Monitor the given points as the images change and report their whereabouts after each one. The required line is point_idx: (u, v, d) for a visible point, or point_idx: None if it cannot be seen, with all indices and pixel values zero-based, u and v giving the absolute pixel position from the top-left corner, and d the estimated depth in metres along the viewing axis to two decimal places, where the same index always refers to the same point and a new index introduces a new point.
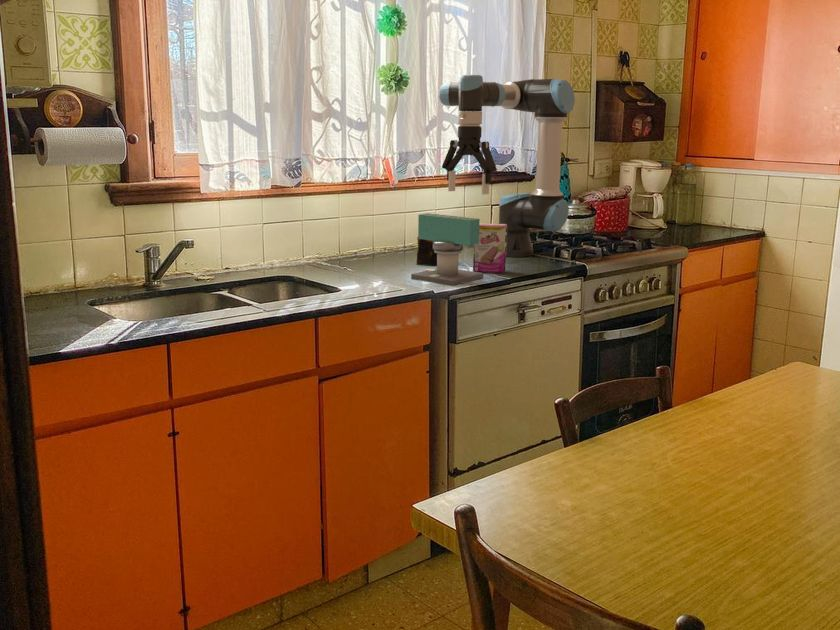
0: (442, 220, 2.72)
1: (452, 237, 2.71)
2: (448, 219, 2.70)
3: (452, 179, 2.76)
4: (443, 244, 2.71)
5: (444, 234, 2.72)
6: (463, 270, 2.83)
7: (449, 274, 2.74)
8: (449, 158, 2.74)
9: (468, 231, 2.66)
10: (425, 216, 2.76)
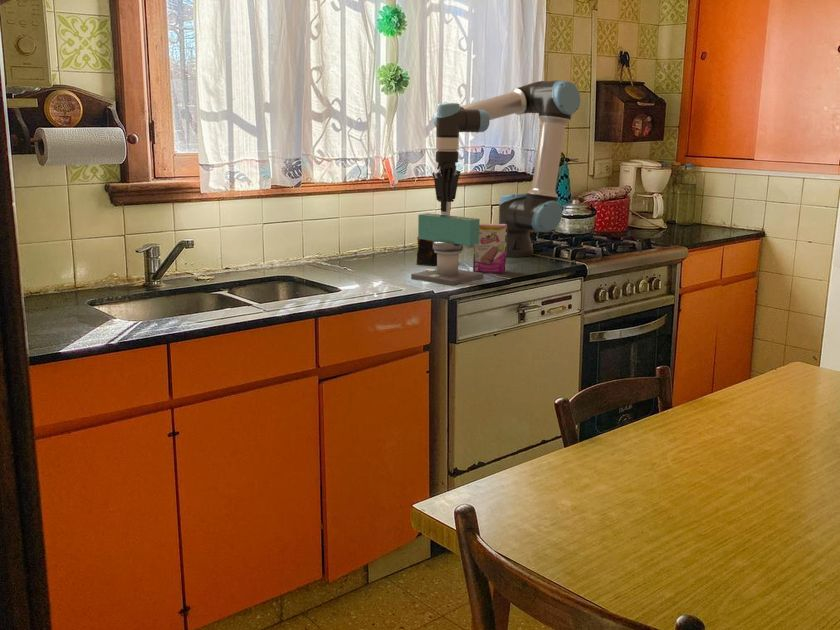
0: (442, 220, 2.72)
1: (452, 237, 2.71)
2: (448, 219, 2.70)
3: None
4: (443, 244, 2.71)
5: (444, 234, 2.72)
6: (463, 270, 2.83)
7: (449, 274, 2.74)
8: None
9: (468, 231, 2.66)
10: (425, 216, 2.76)
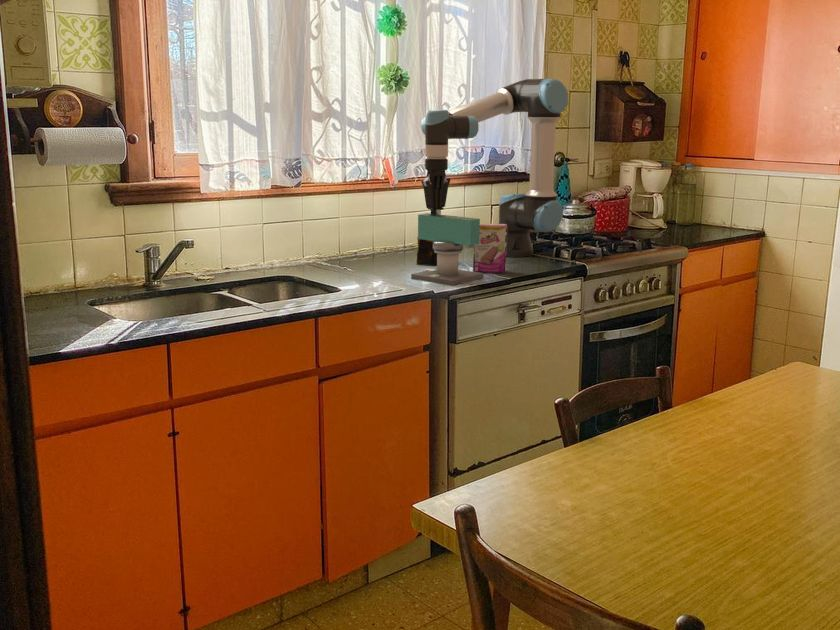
0: (442, 220, 2.72)
1: (452, 237, 2.71)
2: (448, 219, 2.70)
3: None
4: (443, 244, 2.71)
5: (444, 234, 2.72)
6: (463, 270, 2.83)
7: (449, 274, 2.74)
8: None
9: (469, 231, 2.66)
10: (425, 216, 2.76)
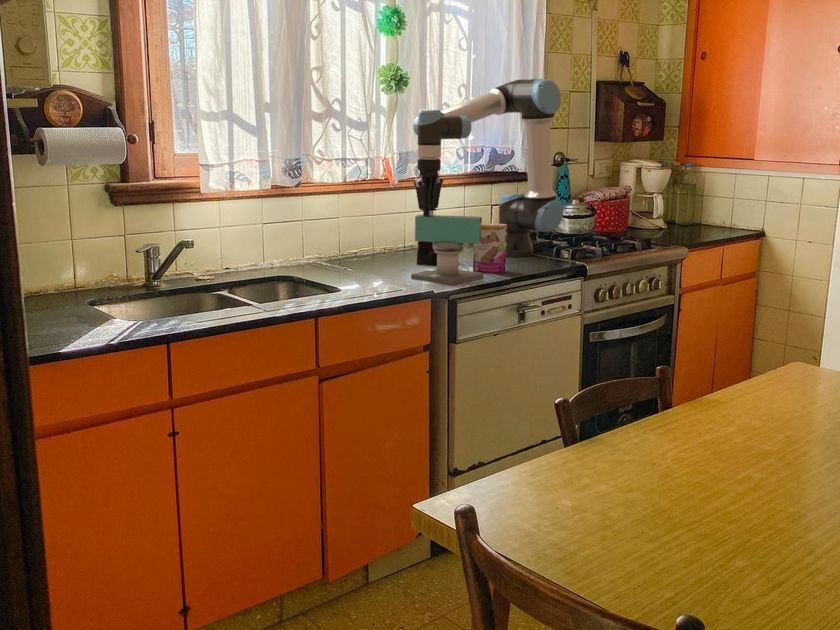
0: (445, 220, 2.71)
1: (458, 237, 2.72)
2: (453, 219, 2.71)
3: None
4: (451, 244, 2.71)
5: (448, 234, 2.72)
6: (463, 270, 2.83)
7: (449, 274, 2.74)
8: None
9: (477, 229, 2.70)
10: (424, 218, 2.72)
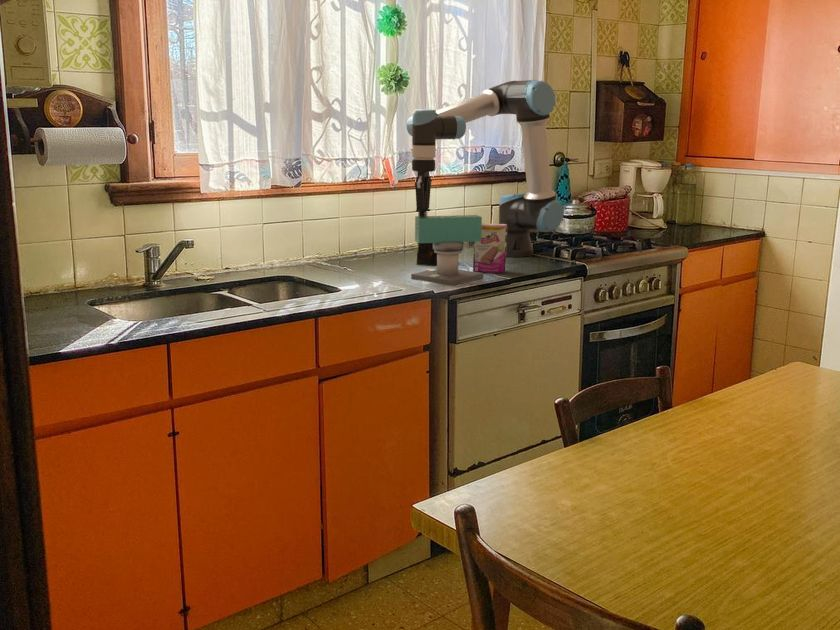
0: (448, 220, 2.71)
1: (461, 236, 2.73)
2: (456, 219, 2.71)
3: None
4: (457, 244, 2.71)
5: (451, 234, 2.72)
6: (463, 270, 2.83)
7: (449, 274, 2.74)
8: None
9: (479, 227, 2.74)
10: (428, 219, 2.69)
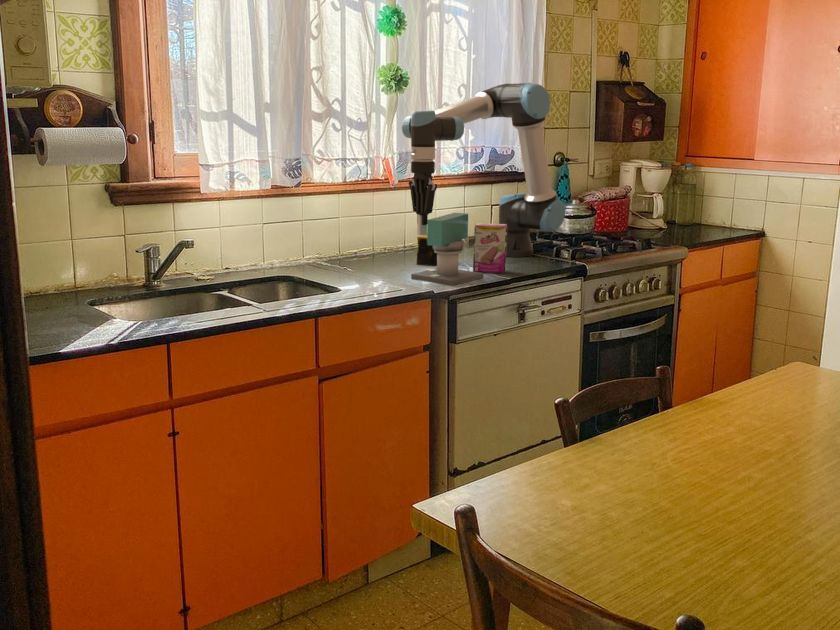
0: (454, 220, 2.72)
1: (459, 234, 2.77)
2: (457, 218, 2.74)
3: None
4: None
5: (455, 233, 2.74)
6: (463, 270, 2.83)
7: (449, 274, 2.74)
8: (415, 199, 2.71)
9: (467, 224, 2.82)
10: (445, 221, 2.66)
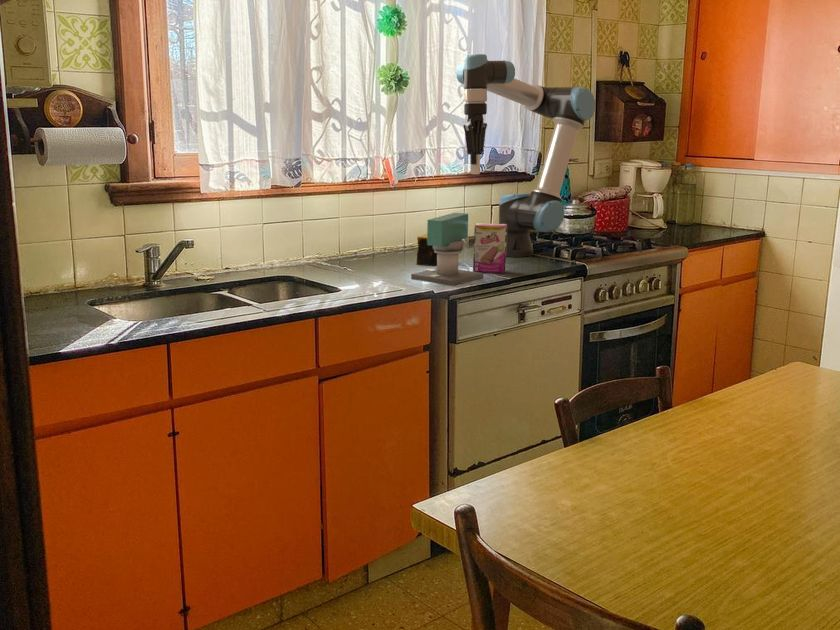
0: (454, 220, 2.72)
1: (459, 234, 2.77)
2: (457, 218, 2.74)
3: None
4: None
5: (455, 233, 2.74)
6: (463, 270, 2.83)
7: (449, 274, 2.74)
8: None
9: (467, 224, 2.82)
10: (445, 221, 2.66)
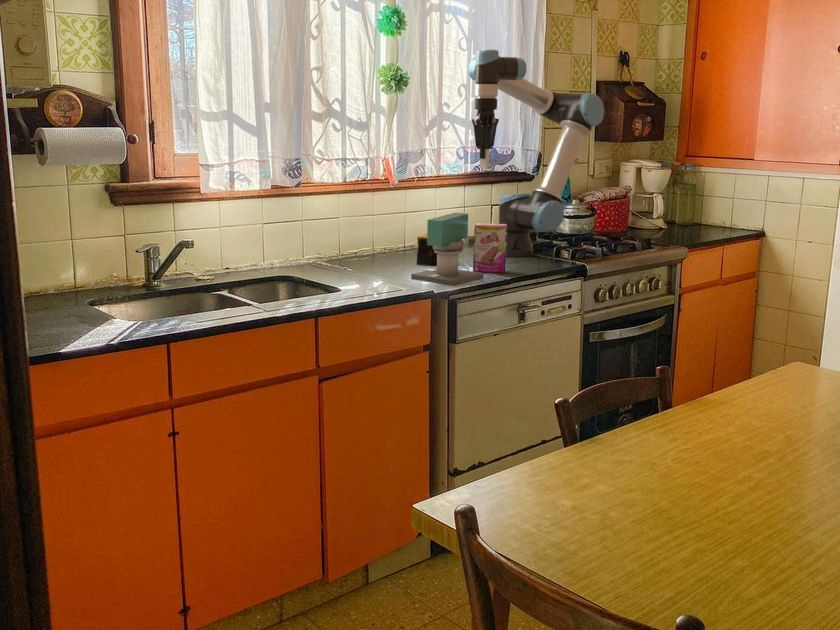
0: (454, 220, 2.72)
1: (459, 234, 2.77)
2: (457, 218, 2.74)
3: None
4: None
5: (455, 233, 2.74)
6: (463, 270, 2.83)
7: (449, 274, 2.74)
8: None
9: (467, 224, 2.82)
10: (445, 221, 2.66)
